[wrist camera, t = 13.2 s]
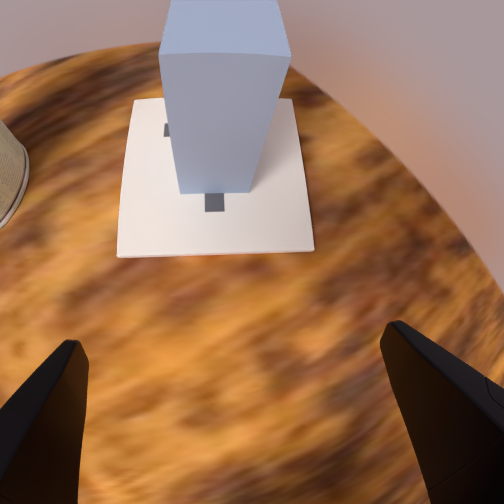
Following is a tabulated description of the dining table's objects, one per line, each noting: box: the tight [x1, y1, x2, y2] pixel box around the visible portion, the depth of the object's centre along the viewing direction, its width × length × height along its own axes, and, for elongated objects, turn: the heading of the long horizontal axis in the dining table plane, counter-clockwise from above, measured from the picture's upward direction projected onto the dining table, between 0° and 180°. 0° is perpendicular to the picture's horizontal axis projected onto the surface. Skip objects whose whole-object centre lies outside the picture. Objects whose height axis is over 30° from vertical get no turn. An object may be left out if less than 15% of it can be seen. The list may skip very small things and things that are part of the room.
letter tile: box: [117, 98, 314, 258], centre depth 23 cm, size 14×14×1 cm
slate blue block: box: [159, 0, 292, 194], centre depth 17 cm, size 5×5×13 cm
